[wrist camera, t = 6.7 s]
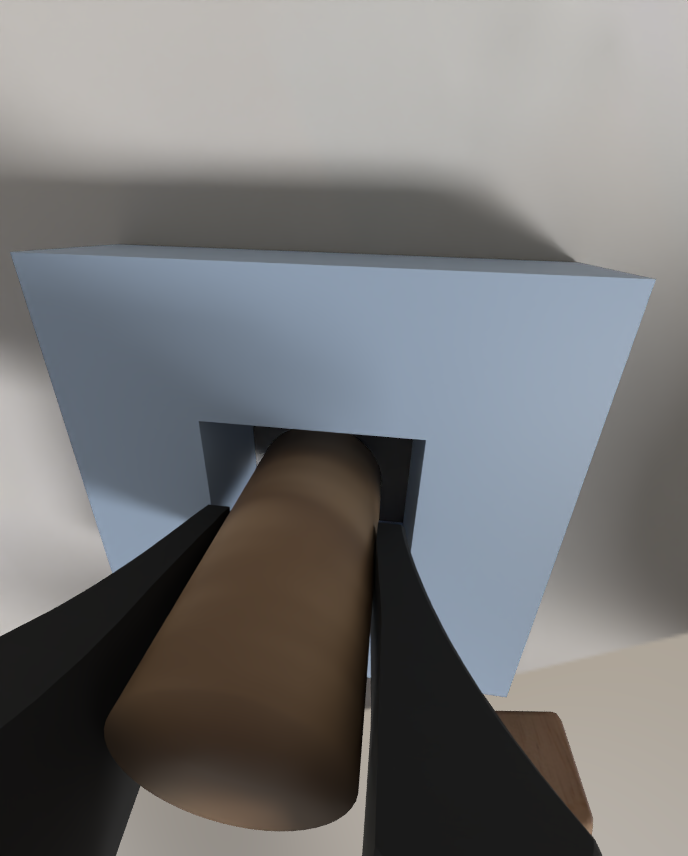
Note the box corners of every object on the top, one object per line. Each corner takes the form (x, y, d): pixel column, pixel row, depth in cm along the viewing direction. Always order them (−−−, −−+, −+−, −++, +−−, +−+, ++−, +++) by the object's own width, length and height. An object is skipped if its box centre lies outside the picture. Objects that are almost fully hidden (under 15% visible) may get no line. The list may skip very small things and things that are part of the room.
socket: (184, 566, 19) (135, 644, 16) (117, 244, 13) (9, 251, 9) (485, 603, 18) (506, 697, 14) (577, 262, 12) (655, 279, 8)
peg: (271, 525, 14) (146, 814, 7) (252, 425, 13) (64, 677, 6) (383, 529, 14) (364, 844, 7) (379, 424, 12) (349, 703, 5)
